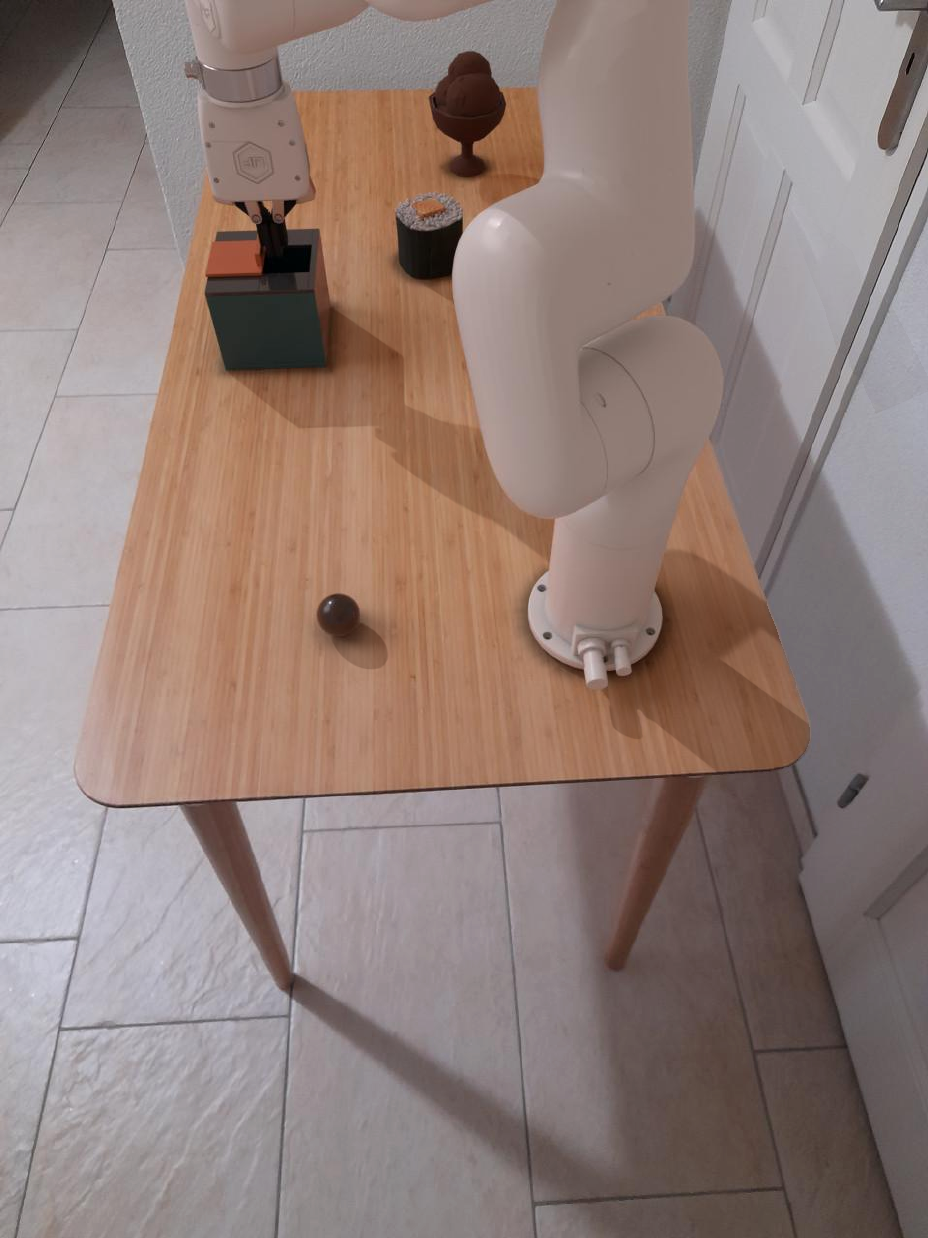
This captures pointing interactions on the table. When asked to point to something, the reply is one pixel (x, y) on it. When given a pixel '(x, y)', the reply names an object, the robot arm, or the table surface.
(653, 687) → the table surface
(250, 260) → the slider
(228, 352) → the sliding lid box
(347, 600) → the ball
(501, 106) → the ice cream bowl
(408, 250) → the sushi
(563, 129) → the robot arm
